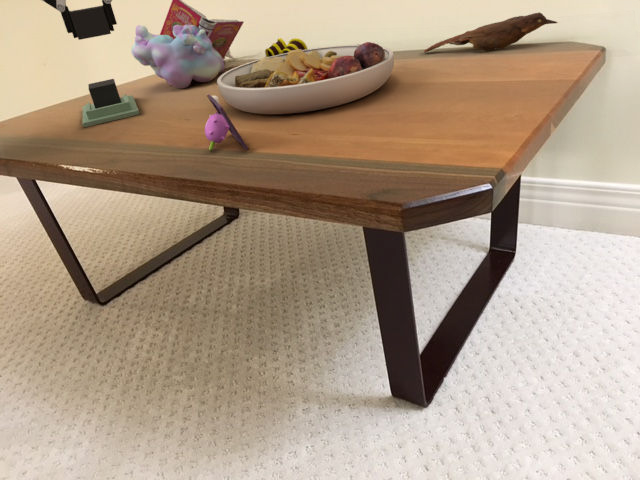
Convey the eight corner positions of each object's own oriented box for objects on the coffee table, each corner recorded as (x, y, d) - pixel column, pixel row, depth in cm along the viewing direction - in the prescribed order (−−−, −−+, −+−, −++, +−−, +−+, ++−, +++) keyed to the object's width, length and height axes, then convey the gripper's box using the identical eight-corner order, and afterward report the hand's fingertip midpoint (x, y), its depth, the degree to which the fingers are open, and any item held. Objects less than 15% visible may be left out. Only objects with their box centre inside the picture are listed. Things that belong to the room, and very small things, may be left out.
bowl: (188, 122, 89) (175, 73, 85) (276, 75, 112) (268, 35, 108) (357, 120, 76) (350, 63, 72) (417, 68, 99) (414, 22, 95)
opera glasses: (267, 66, 126) (260, 46, 123) (283, 57, 129) (276, 36, 126) (294, 68, 120) (287, 46, 117) (311, 58, 122) (304, 36, 119)
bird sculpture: (429, 61, 113) (424, 37, 111) (559, 30, 101) (556, 2, 99) (422, 70, 108) (416, 45, 106) (558, 38, 96) (554, 9, 94)
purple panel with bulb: (226, 102, 68) (213, 90, 76) (191, 125, 68) (181, 111, 75) (253, 146, 72) (238, 130, 79) (221, 168, 71) (208, 150, 79)
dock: (83, 127, 97) (74, 101, 95) (83, 110, 110) (75, 86, 108) (139, 114, 99) (131, 88, 97) (133, 98, 113) (126, 75, 111)
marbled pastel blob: (114, 77, 111) (134, -11, 102) (142, 54, 129) (161, -22, 121) (209, 114, 115) (236, 33, 107) (224, 86, 133) (247, 15, 125)
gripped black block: (78, 39, 85) (69, 12, 83) (79, 36, 90) (71, 11, 88) (111, 33, 86) (102, 7, 85) (110, 30, 92) (102, 5, 90)
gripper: (-15, -91, 74) (37, 46, 83) (112, -107, 79) (148, 25, 87) (-6, -85, 81) (41, 41, 89) (110, -101, 85) (145, 22, 94)
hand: (94, 32), depth 88 cm, fingers closed on gripped black block, 5 cm apart
